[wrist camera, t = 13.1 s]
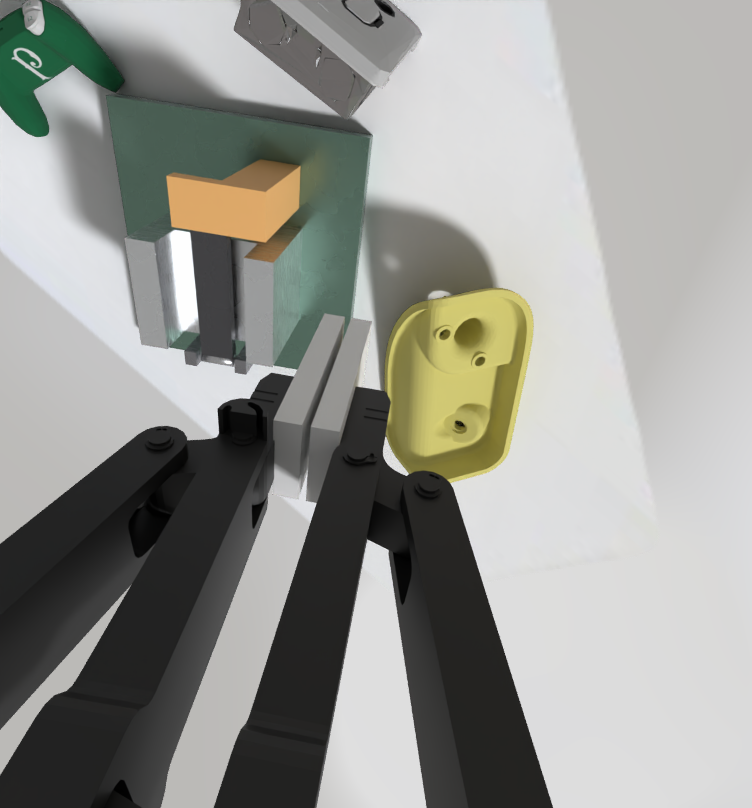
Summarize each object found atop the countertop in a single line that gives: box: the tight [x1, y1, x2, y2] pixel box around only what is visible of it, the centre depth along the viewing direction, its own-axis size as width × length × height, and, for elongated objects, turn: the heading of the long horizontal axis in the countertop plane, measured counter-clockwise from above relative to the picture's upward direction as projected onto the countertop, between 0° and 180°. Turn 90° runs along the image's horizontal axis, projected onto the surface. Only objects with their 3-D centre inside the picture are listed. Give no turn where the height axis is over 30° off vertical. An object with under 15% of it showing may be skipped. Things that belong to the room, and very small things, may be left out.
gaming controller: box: [0, 0, 124, 137], centre depth 35 cm, size 9×4×6 cm
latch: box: [166, 159, 301, 243], centre depth 34 cm, size 3×6×9 cm, turn 83°
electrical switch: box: [234, 0, 422, 120], centre depth 30 cm, size 9×5×9 cm, turn 55°
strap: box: [190, 230, 237, 367], centre depth 37 cm, size 14×3×1 cm, turn 173°
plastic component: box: [385, 288, 533, 483], centre depth 45 cm, size 20×7×10 cm
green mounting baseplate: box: [106, 94, 373, 374], centre depth 39 cm, size 20×19×10 cm
